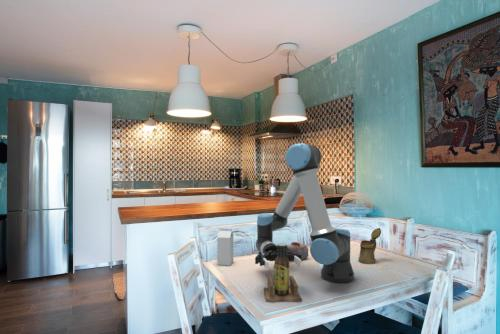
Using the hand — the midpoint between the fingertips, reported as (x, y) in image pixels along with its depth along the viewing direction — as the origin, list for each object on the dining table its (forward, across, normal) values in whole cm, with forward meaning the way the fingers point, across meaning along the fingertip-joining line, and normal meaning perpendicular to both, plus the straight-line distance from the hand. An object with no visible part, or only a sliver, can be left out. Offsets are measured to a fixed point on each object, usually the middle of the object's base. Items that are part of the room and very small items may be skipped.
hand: (284, 264), depth 128 cm
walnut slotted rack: (-3, 0, -14) cm, 14 cm away
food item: (-50, -23, -14) cm, 57 cm away
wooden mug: (-38, -62, -14) cm, 74 cm away
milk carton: (-51, +17, -14) cm, 55 cm away
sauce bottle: (-3, 0, -13) cm, 13 cm away
